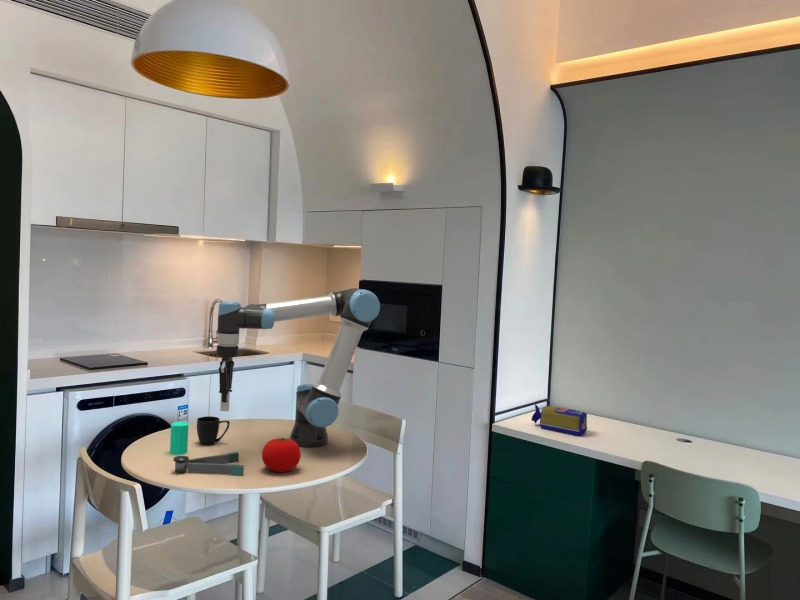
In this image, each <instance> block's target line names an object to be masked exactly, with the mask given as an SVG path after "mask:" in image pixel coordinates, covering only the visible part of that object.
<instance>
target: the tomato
mask: <svg viewBox="0 0 800 600" xmlns="http://www.w3.org/2000/svg"><path fill="white" fill-rule="evenodd" d="M301 455H302V453H301V448H300V446H298V444H297V443H296V442H295V441H293V440H291V439H290V438H285V437H278V438H272V439H271V440H269V441H267V443H266V444H265V445H264V446H263V447H262V451H261V459H262V463H263V464H264V466H265V467H266V468H267V469H269V470H270V471H273V472H277V473H284V472H288V471H292V470H294V468H295V469H296V467H297V466H298V464H299V463H300V461H301V457H302V456H301Z"/></svg>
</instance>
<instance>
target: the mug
mask: <svg viewBox="0 0 800 600" xmlns="http://www.w3.org/2000/svg"><path fill="white" fill-rule="evenodd" d="M222 423H226V428H225V429H224V431H223V432H222V434H221V436H220V437H218V434H219V431H220V424H222ZM229 428H230V421H229V420H220V418H219V417H217V416H210V415H209V416H200V417H197V418H196V433H197V434H196V435H197V439H198V441H199V445H201V446H206V447H207V446H212V445H215V444H216V443H218V442H220V441H221V440H222V438H223V437H224V436H225V434H226V433H227V431H228V430H229Z"/></svg>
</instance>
